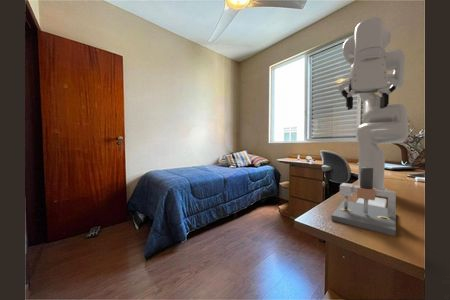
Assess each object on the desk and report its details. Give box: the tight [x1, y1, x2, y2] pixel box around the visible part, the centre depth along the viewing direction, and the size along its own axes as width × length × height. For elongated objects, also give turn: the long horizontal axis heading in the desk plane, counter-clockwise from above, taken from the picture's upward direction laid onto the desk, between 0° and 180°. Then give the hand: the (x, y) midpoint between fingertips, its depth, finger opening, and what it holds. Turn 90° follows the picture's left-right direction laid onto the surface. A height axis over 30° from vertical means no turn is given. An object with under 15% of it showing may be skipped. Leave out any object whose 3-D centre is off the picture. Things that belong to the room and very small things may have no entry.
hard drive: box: [356, 196, 388, 208], centre depth 68 cm, size 2×8×12 cm
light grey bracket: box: [339, 182, 397, 219], centre depth 55 cm, size 5×13×8 cm, turn 47°
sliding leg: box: [356, 167, 376, 214], centre depth 54 cm, size 3×4×14 cm
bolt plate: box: [330, 200, 397, 237], centre depth 56 cm, size 18×14×2 cm
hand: (366, 108), depth 63 cm, fingers open, 9 cm apart
